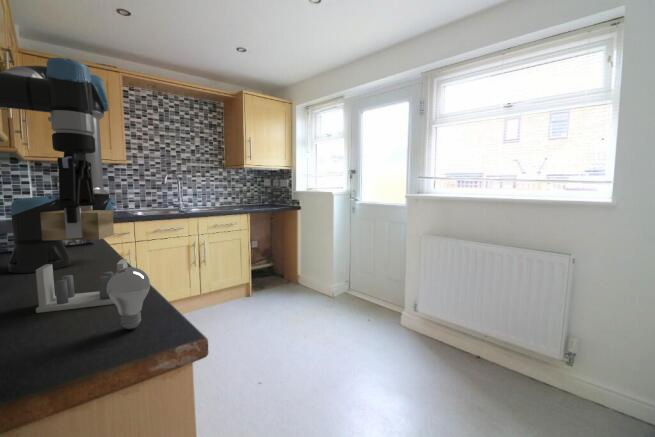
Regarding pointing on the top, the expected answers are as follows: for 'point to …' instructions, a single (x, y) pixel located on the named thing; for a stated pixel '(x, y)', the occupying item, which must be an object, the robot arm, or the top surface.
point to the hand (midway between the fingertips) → (81, 235)
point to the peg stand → (70, 291)
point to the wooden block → (93, 225)
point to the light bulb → (129, 294)
